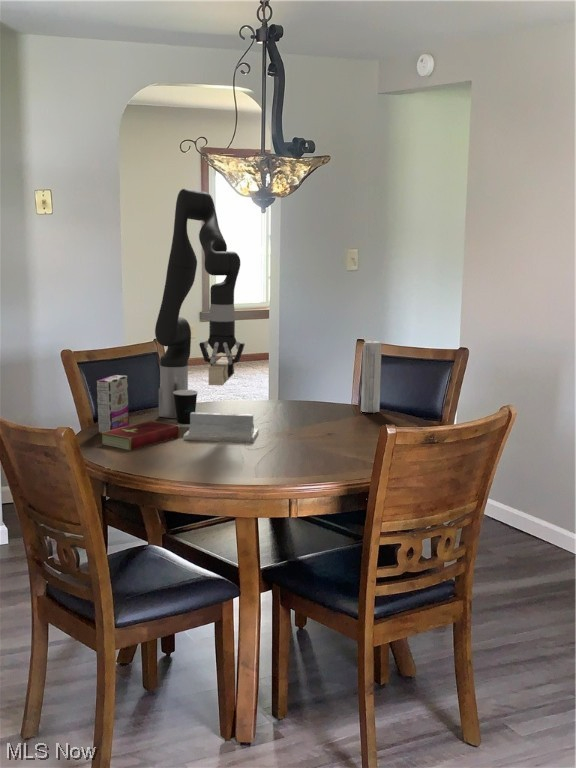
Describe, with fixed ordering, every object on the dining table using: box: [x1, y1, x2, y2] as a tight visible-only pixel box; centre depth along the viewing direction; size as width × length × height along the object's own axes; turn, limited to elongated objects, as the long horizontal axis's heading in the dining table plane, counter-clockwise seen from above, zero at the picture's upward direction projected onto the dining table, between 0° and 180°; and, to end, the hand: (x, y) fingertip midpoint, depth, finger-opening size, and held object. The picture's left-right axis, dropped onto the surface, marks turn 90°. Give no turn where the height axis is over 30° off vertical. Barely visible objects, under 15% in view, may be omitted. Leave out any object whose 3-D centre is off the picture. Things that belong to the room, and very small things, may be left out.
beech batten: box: [208, 356, 235, 387], centre depth 253 cm, size 22×4×5 cm, turn 175°
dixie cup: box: [173, 389, 199, 428], centre depth 269 cm, size 8×8×11 cm
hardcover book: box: [99, 420, 181, 451], centre depth 250 cm, size 12×21×4 cm, turn 146°
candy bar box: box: [96, 374, 130, 433], centre depth 262 cm, size 11×5×16 cm, turn 161°
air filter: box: [360, 340, 382, 413], centre depth 294 cm, size 6×6×25 cm
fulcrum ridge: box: [183, 411, 259, 444], centre depth 256 cm, size 21×12×7 cm, turn 85°
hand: (221, 375), depth 253 cm, fingers closed on beech batten, 4 cm apart
